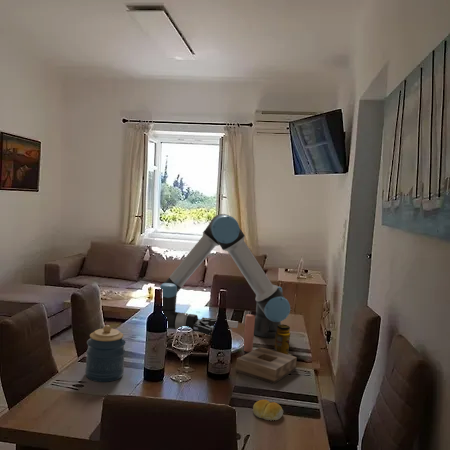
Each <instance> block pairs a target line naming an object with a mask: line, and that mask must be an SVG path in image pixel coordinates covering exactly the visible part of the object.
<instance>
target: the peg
mask: <svg viewBox="0 0 450 450" xmlns="http://www.w3.org/2000/svg"><path fill="white" fill-rule="evenodd" d="M255 317H256V314H252V313H251V314H249V313H247V314H245V318H244V321H245V322H244V330H243V331H244V335H243V344H244V346H245V347H244V352H246V353H249V352H251V351H253V350H254V338H255V337H254V336H255V335H254V325H255Z"/></svg>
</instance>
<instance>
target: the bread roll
mask: <svg viewBox="0 0 450 450" xmlns="http://www.w3.org/2000/svg"><path fill="white" fill-rule="evenodd" d="M252 412H253V415H254V416H256V418H259V419H264V420H265V421H269V420H270V421H271V422H272V420H273V421H274V420H275V421H278V420H279V419H281V418H282V417H283V414H284V410H283V408H282V406H281V405H280V404H279V403H277V402H274V401H273V402H270V401H269V400H267V399H260V400H257V401H256V402H255V403H254V404H253V406H252ZM270 421H269V422H270Z"/></svg>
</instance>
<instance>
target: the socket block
mask: <svg viewBox="0 0 450 450" xmlns="http://www.w3.org/2000/svg"><path fill="white" fill-rule="evenodd" d="M297 360H298V359H297V356H294V355H287V354H283V353H280V352H276V351H274V350H272V349H268V348H266V347H261V346H260V347H257V348H255V349H253V350H252V351H251V352H246V353H245V354H244V355H241V356H239V357H237V358H236V364H235V365H236V366H235V373H238V374H241V375H245V376H249V377H252V378H255V379H257V378H258V380H261V381H265V382H267V381H268V382H267V383H270V382H271V383H270V384H273V383H275V384H276V383H278V382H279V381H281V380H282V379H284V378H285V377H286V376H288V375H290V374H291V373H294V371H296V368H297ZM277 381H278V382H277Z"/></svg>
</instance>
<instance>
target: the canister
mask: <svg viewBox="0 0 450 450" xmlns="http://www.w3.org/2000/svg"><path fill="white" fill-rule="evenodd" d="M89 337H90V338H89V339H88V340H87V341H86V344H87V350H86V361H85V362H86V364H85V369H84V371H85V377H86V378H87V379H88V380H91V381H93V382H100V383H101V382H102V383H104V382H106V383H107V382H113V381H116V380H119V379H121V378H122V377H123V375H124V371H125V367H124V366H125V363H124V362H125V353H126V351H125V348H124V347H125V345H126V342H127V341H126V340H125V339H124V333H122V331H120V330H118V329H116V328H112V327H111V326H110V325H109V324H106V325H104V326H103V328H99V329H96V330H94V331H93V332H91V333H89Z"/></svg>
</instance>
